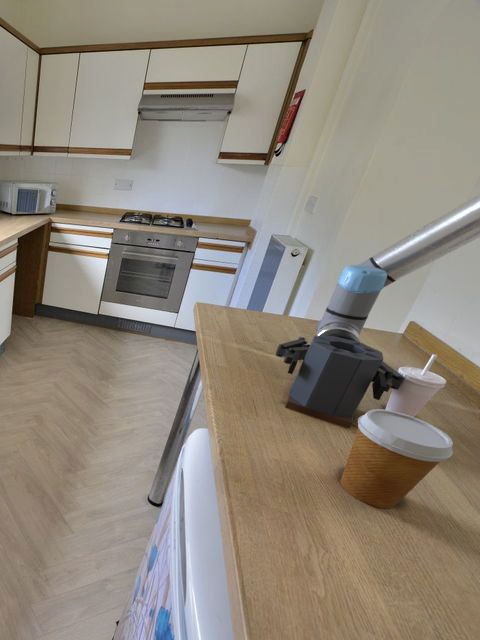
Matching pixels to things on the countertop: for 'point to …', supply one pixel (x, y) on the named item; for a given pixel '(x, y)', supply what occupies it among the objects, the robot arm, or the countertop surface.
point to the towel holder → (338, 420)
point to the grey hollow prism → (335, 375)
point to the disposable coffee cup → (392, 456)
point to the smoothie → (415, 389)
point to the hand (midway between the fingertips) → (334, 379)
